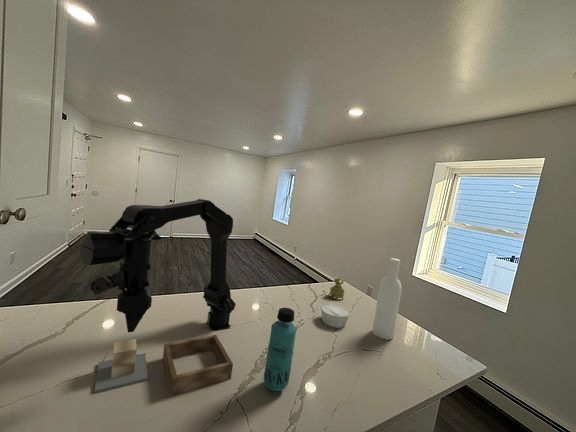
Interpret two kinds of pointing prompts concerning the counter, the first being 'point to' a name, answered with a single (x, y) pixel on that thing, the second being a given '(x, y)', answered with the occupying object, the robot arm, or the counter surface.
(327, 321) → the ramekin
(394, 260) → the bottle
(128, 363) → the maple block
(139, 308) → the robot arm
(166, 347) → the box
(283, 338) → the beverage bottle
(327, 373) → the counter surface
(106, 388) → the pad
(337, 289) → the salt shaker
